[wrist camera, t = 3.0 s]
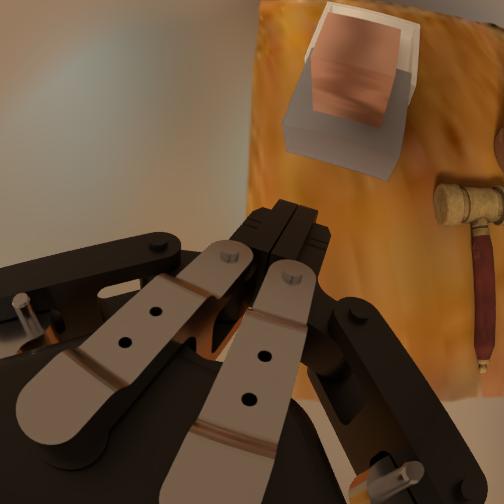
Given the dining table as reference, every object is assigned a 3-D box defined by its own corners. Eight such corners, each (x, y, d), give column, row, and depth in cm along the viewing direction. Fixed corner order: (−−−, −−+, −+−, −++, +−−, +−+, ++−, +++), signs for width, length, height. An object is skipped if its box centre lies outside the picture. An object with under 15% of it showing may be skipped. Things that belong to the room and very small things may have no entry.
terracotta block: (388, 80, 30) (401, 29, 22) (379, 128, 29) (394, 77, 21) (328, 65, 31) (328, 12, 23) (312, 110, 30) (310, 56, 22)
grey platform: (401, 102, 35) (411, 73, 29) (387, 181, 34) (399, 156, 28) (313, 78, 38) (311, 47, 32) (286, 151, 36) (281, 123, 30)
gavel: (524, 369, 24) (453, 385, 25) (504, 362, 28) (437, 375, 30) (514, 181, 27) (444, 177, 28) (496, 192, 31) (430, 191, 33)
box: (415, 42, 37) (419, 24, 33) (409, 105, 35) (416, 86, 31) (327, 20, 40) (327, 1, 36) (305, 77, 38) (304, 57, 34)
